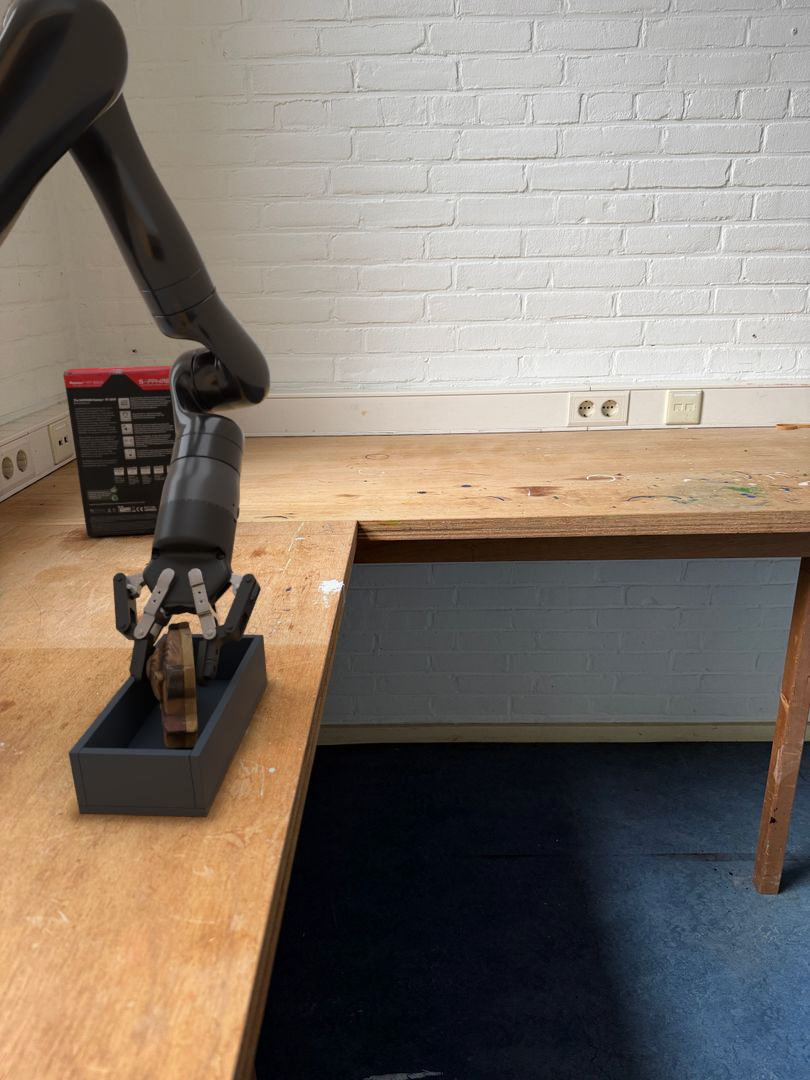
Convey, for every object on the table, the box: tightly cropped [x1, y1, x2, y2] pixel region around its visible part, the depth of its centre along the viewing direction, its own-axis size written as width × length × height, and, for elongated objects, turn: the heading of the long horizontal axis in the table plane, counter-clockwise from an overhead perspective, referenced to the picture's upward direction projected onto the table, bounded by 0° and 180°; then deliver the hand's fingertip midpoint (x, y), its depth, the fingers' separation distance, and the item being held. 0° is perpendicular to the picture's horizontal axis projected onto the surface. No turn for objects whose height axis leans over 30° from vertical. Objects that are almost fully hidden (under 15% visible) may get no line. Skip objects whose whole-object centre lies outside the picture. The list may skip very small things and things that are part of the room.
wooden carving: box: [146, 621, 198, 749], centre depth 73 cm, size 16×5×10 cm, turn 21°
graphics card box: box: [62, 365, 175, 537], centre depth 131 cm, size 17×7×27 cm, turn 100°
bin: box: [68, 633, 268, 818], centre depth 74 cm, size 11×22×6 cm, turn 176°
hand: (171, 683), depth 71 cm, fingers closed on wooden carving, 4 cm apart
